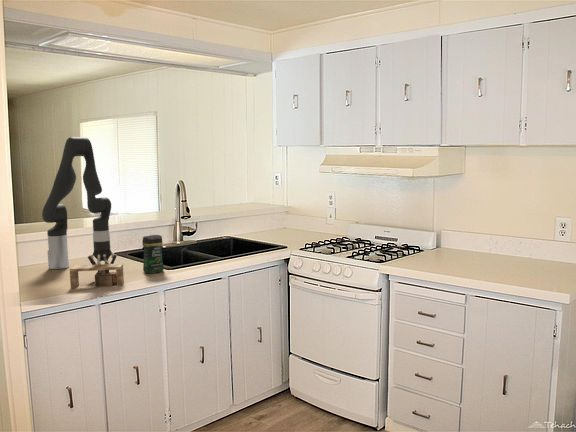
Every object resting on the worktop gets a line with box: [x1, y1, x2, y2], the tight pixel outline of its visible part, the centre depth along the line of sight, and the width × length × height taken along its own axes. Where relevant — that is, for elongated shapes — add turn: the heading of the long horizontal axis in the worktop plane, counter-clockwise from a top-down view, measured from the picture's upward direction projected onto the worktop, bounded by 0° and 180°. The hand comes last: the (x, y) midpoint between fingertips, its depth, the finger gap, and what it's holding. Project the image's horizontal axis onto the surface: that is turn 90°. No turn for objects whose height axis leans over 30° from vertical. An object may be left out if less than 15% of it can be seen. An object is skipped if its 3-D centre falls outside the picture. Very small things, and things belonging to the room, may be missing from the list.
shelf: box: [69, 263, 125, 289], centre depth 249 cm, size 22×7×9 cm, turn 99°
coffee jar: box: [141, 234, 164, 274], centre depth 273 cm, size 10×8×19 cm
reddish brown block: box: [106, 271, 117, 285], centre depth 253 cm, size 5×5×4 cm
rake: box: [94, 270, 114, 287], centre depth 258 cm, size 8×20×5 cm, turn 8°
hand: (103, 275), depth 261 cm, fingers closed on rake, 2 cm apart
